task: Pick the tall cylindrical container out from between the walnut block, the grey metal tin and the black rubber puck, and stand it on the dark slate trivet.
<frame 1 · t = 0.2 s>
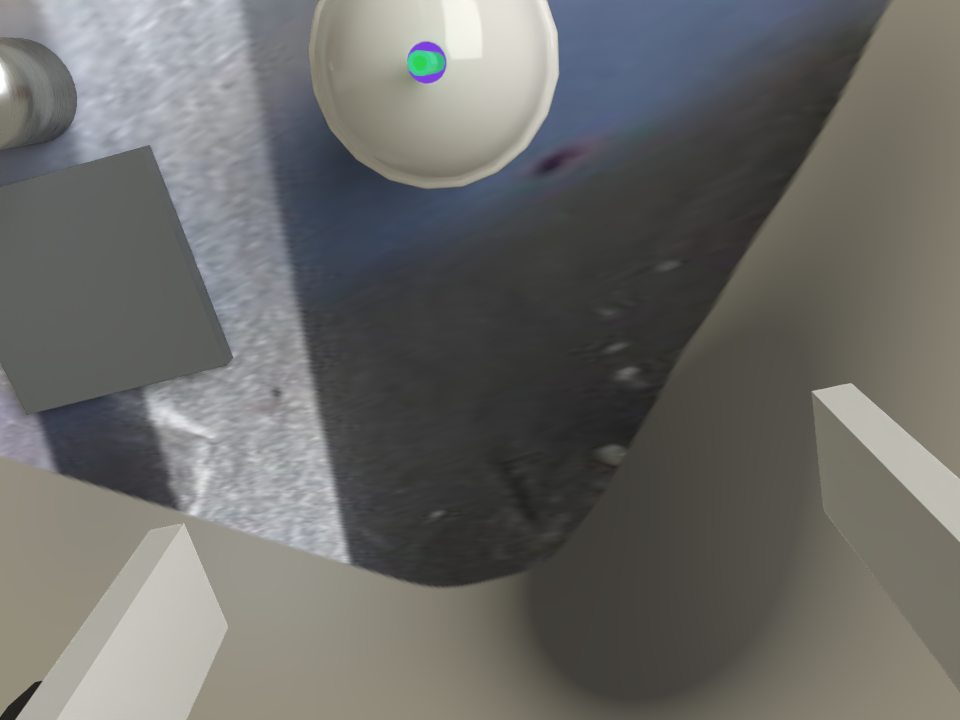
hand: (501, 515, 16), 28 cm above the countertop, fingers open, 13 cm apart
smoothie: (450, 61, 40), on the countertop
slate trivet: (90, 283, 44), on the countertop
grey metal tin: (26, 91, 40), on the countertop
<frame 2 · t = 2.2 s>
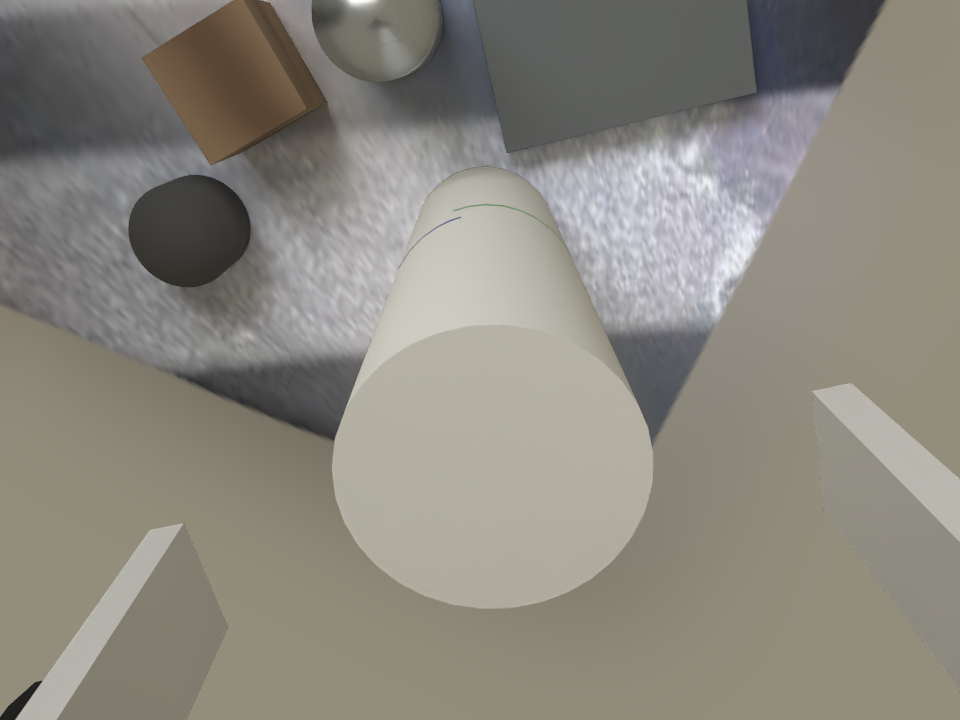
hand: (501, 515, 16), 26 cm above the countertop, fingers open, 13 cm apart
walnut block: (255, 79, 39), on the countertop
black rubber puck: (201, 224, 41), on the countertop
cylindrical container: (485, 236, 41), on the countertop
grey metal tin: (390, 21, 38), on the countertop
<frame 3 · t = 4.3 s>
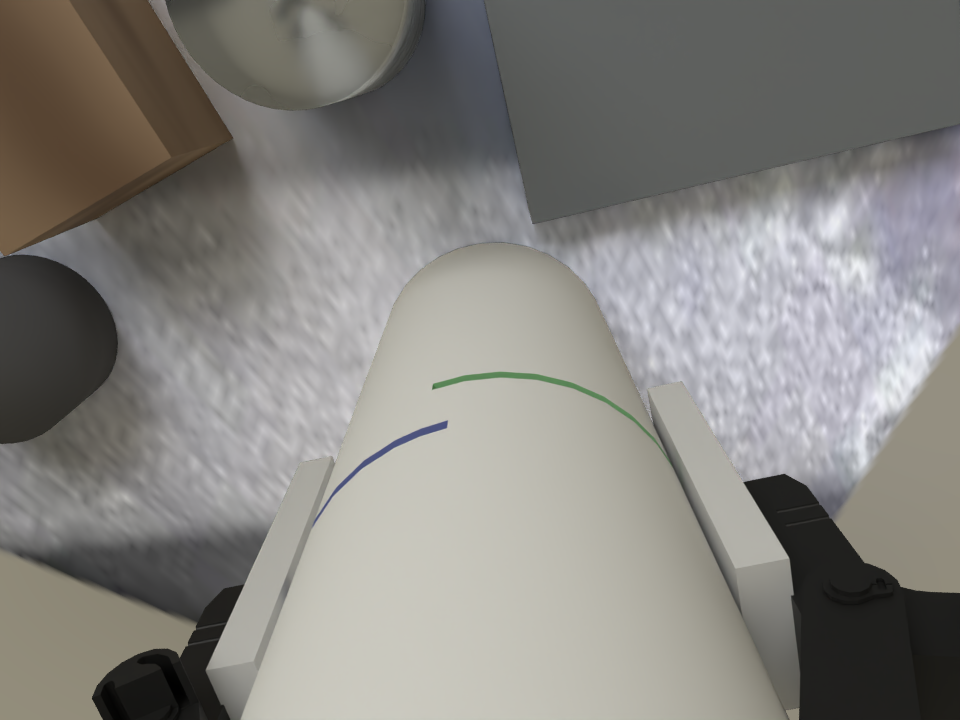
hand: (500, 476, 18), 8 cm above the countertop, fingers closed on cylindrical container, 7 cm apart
walnut block: (112, 101, 23), on the countertop
black rubber puck: (39, 331, 26), on the countertop
cylindrical container: (495, 350, 26), on the countertop, touching gripper
grey metal tin: (334, 2, 22), on the countertop
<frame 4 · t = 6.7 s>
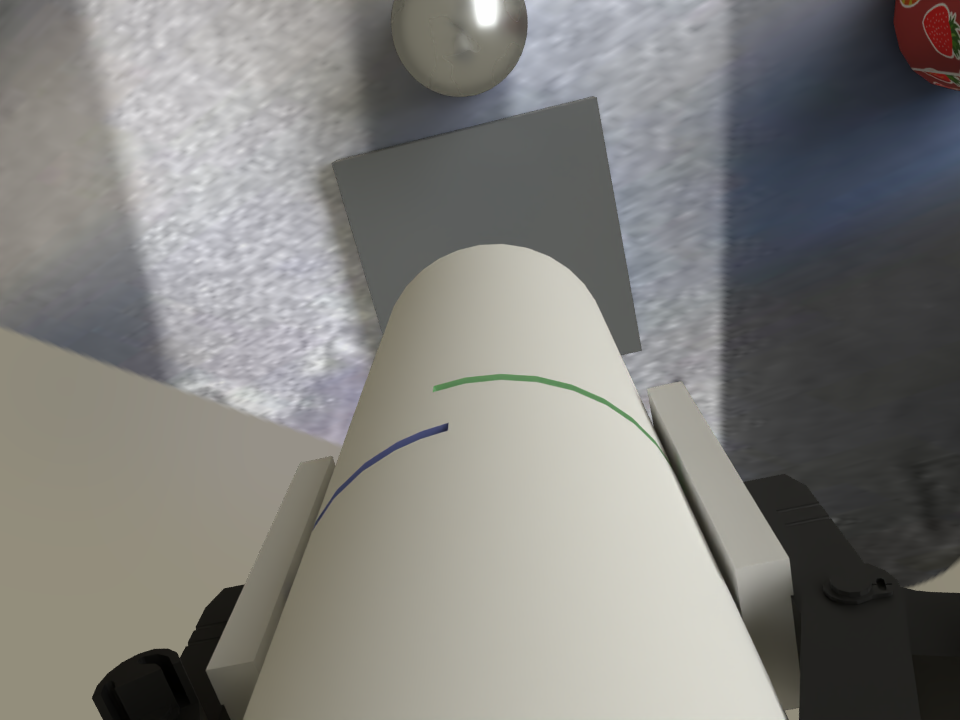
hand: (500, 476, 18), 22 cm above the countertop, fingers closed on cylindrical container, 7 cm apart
cylindrical container: (495, 351, 26), point 13 cm above the countertop, touching gripper
smoothie: (956, 5, 35), on the countertop
slate trivet: (492, 254, 38), on the countertop
grey metal tin: (463, 30, 35), on the countertop
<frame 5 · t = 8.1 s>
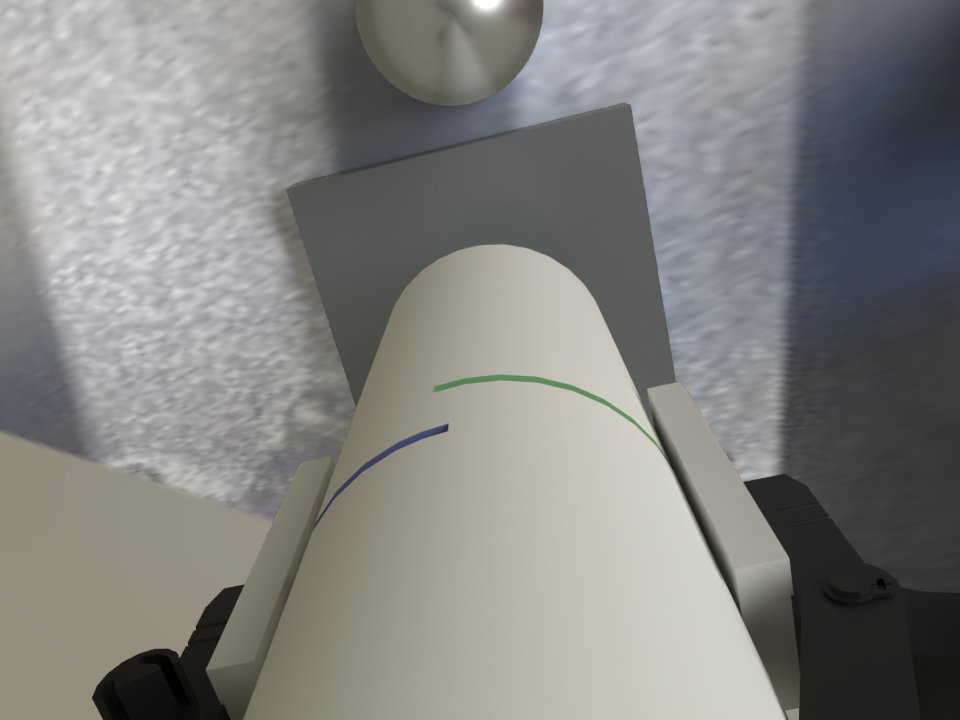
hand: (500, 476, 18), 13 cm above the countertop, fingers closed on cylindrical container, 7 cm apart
cylindrical container: (495, 352, 26), point 5 cm above the countertop, touching gripper
slate trivet: (494, 303, 30), on the countertop
grey metal tin: (456, 16, 27), on the countertop
when the fingers open (10 cm above the countertop, at t = 9.1 s): cylindrical container stays where it is, resting on slate trivet.
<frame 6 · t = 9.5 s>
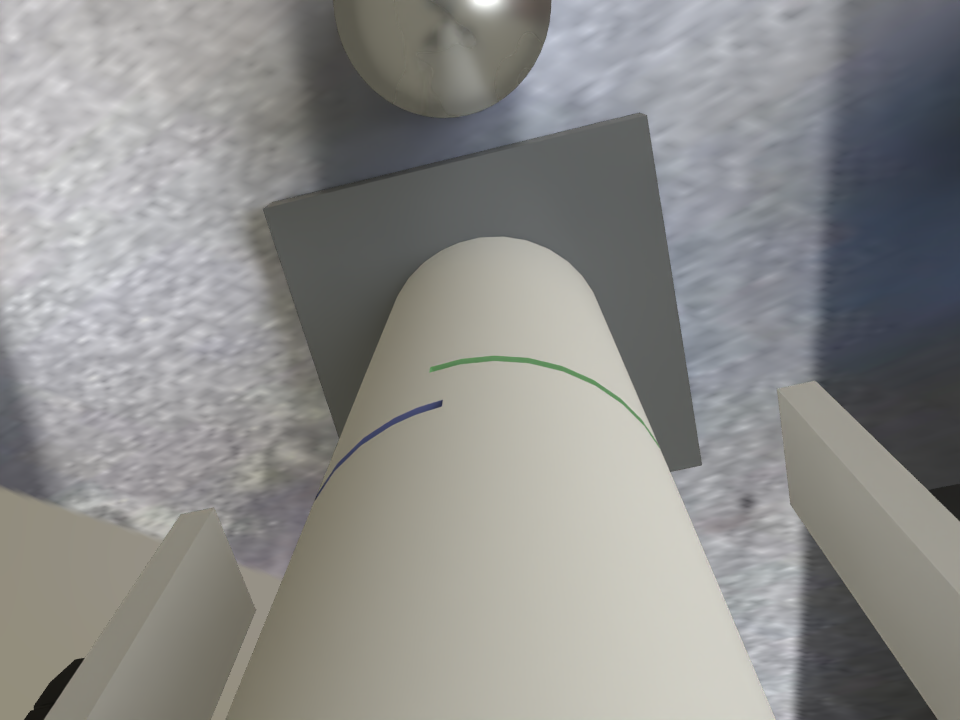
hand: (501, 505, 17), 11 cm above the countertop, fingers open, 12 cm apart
cylindrical container: (495, 341, 26), point 1 cm above the countertop, touching slate trivet
slate trivet: (494, 332, 27), on the countertop
grey metal tin: (452, 17, 24), on the countertop
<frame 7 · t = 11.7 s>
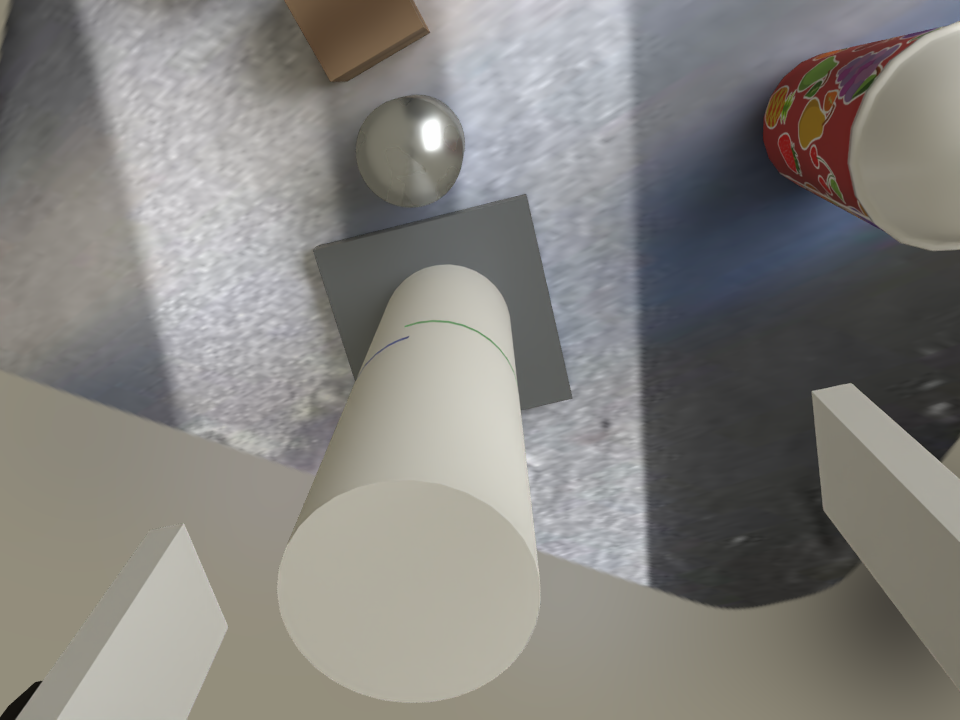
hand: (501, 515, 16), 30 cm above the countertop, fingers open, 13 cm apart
walnut block: (363, 11, 41), on the countertop
cylindrical container: (447, 325, 45), point 1 cm above the countertop, touching slate trivet
smoothie: (816, 120, 43), on the countertop
slate trivet: (447, 320, 46), on the countertop
grey metal tin: (418, 143, 43), on the countertop
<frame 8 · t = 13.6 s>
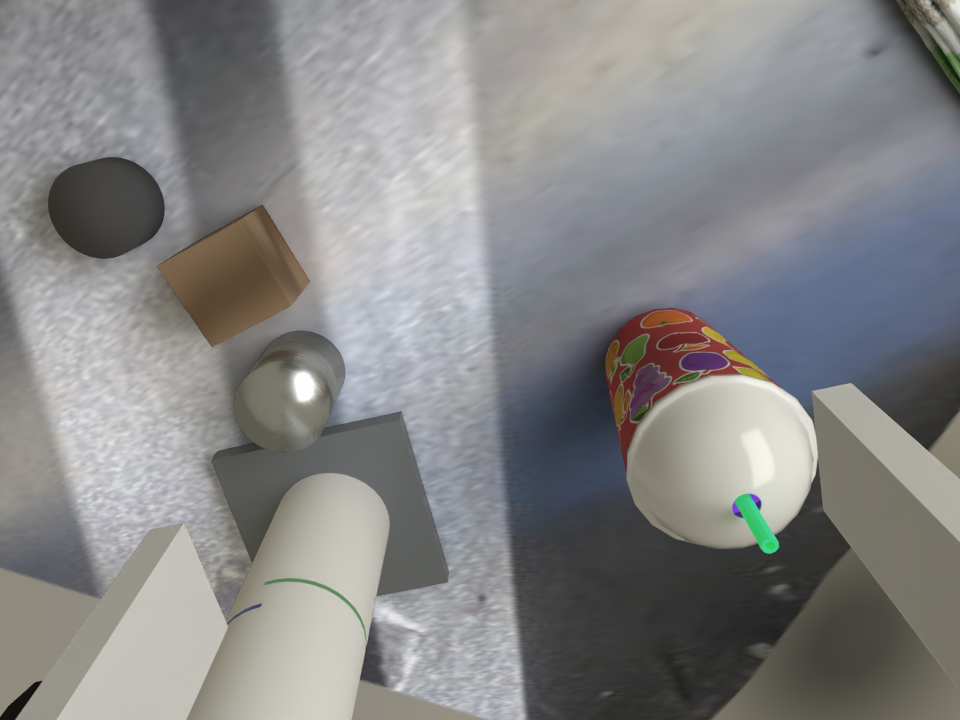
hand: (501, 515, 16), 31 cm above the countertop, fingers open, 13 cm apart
walnut block: (250, 263, 46), on the countertop
black rubber puck: (120, 202, 45), on the countertop
cylindrical container: (334, 521, 51), point 1 cm above the countertop, touching slate trivet
smoothie: (657, 354, 48), on the countertop
slate trivet: (336, 513, 52), on the countertop
grey metal tin: (304, 369, 48), on the countertop
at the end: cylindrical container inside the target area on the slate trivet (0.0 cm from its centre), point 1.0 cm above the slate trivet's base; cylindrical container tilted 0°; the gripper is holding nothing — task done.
